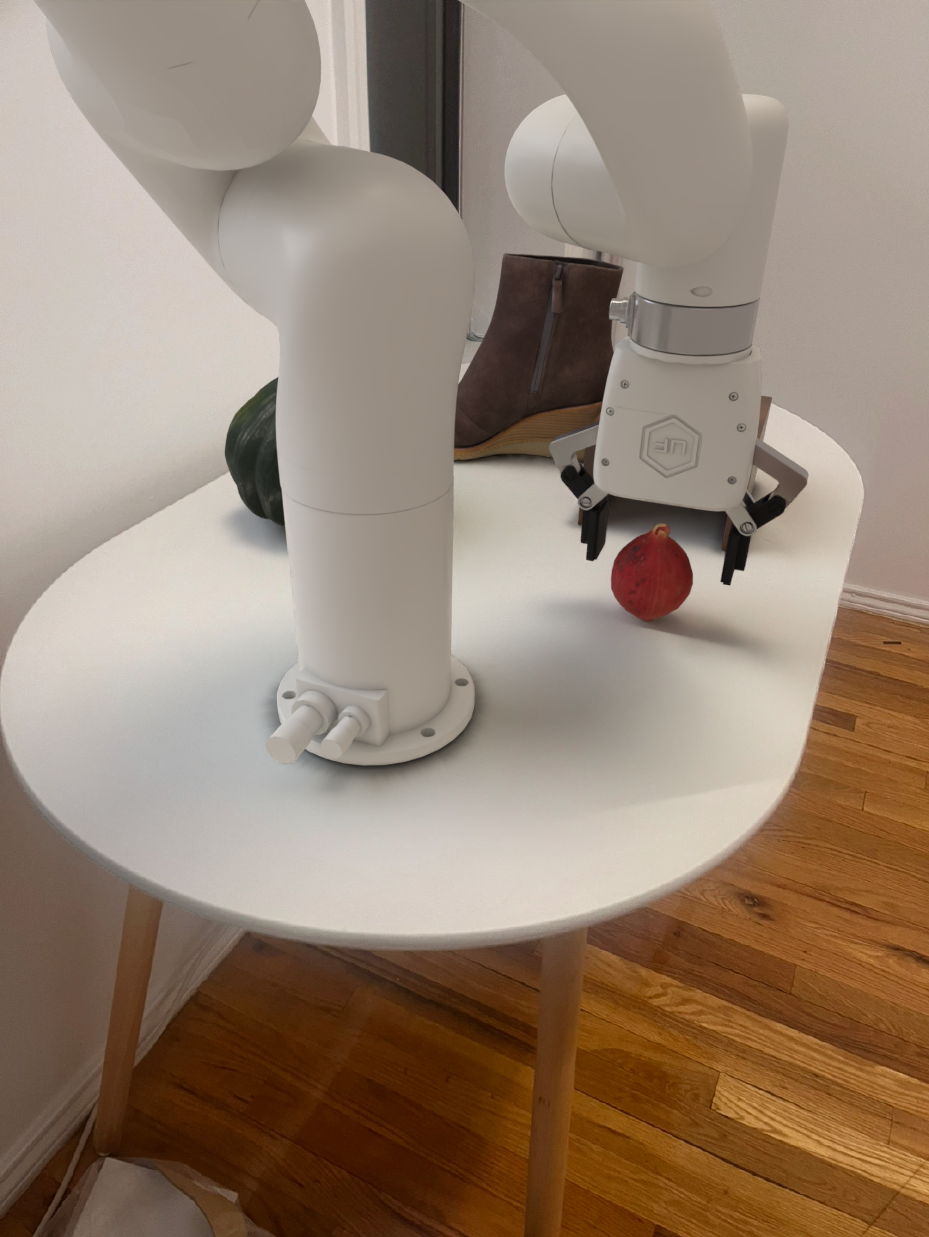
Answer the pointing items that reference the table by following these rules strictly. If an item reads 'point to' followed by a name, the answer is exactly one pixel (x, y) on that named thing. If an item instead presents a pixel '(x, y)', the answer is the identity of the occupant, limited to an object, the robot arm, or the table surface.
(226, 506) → the table surface
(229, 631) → the table surface
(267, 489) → the squash
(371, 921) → the table surface
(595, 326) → the boot
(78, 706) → the table surface
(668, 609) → the onion
